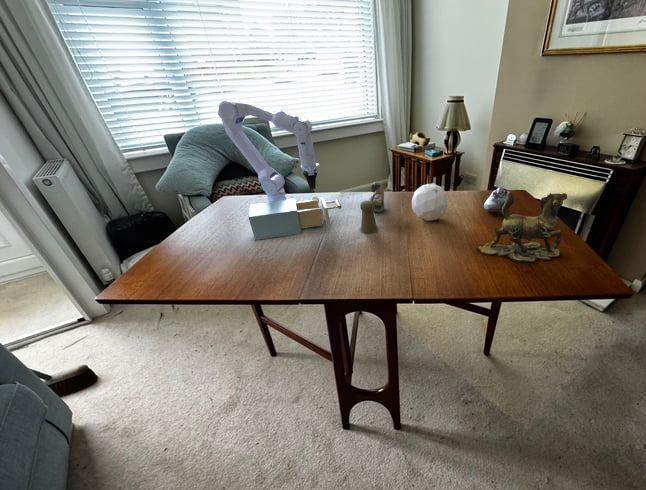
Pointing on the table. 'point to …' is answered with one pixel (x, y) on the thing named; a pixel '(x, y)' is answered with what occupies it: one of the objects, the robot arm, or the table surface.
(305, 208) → the drawer
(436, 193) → the geodesic sphere
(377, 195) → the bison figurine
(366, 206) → the cork
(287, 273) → the table surface
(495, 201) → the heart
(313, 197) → the pacifier
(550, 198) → the figurine
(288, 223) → the cabinet
